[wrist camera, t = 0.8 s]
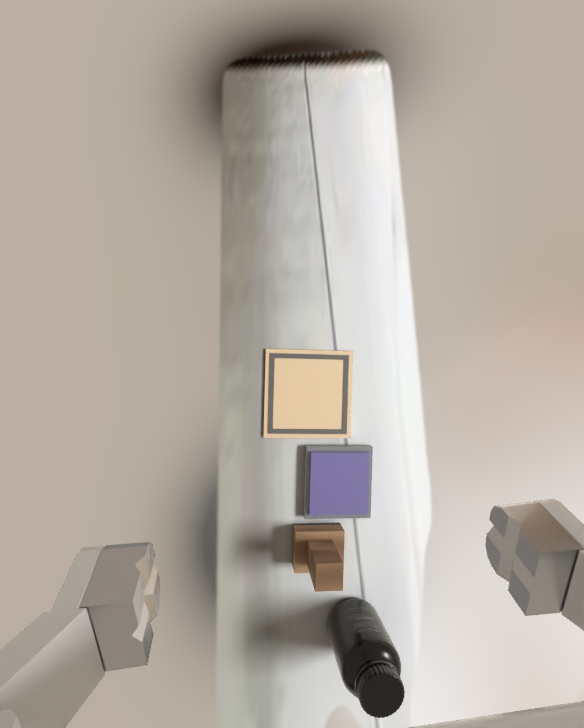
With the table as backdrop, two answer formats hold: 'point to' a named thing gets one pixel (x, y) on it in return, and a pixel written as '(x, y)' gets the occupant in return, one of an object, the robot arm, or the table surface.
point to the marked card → (307, 393)
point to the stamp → (319, 554)
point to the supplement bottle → (366, 657)
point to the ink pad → (337, 481)
